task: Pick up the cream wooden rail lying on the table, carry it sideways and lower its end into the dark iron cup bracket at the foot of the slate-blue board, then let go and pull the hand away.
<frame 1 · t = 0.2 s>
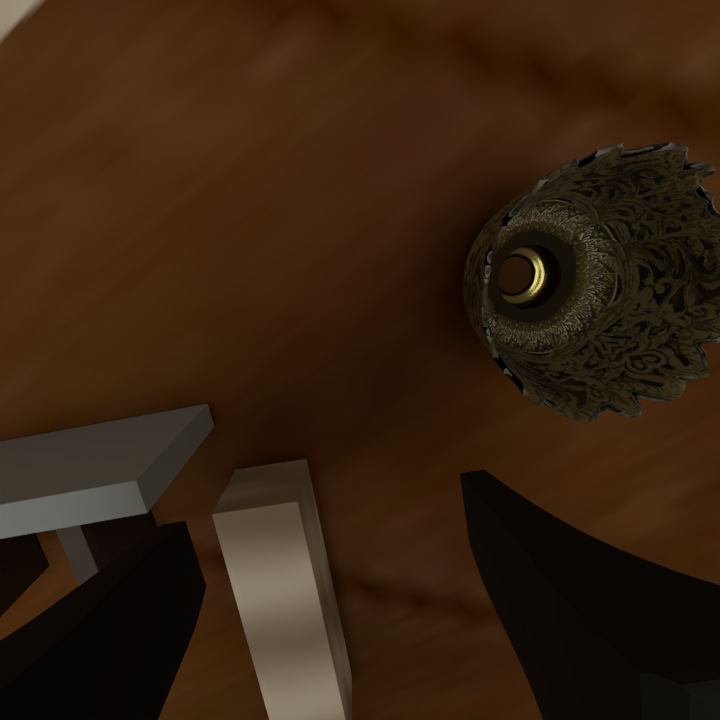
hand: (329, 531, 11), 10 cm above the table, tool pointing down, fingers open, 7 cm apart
backboard: (50, 444, 21), on the table
cup bracket: (80, 516, 22), on the table
rail: (298, 576, 23), on the table
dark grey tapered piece: (512, 275, 19), on the table
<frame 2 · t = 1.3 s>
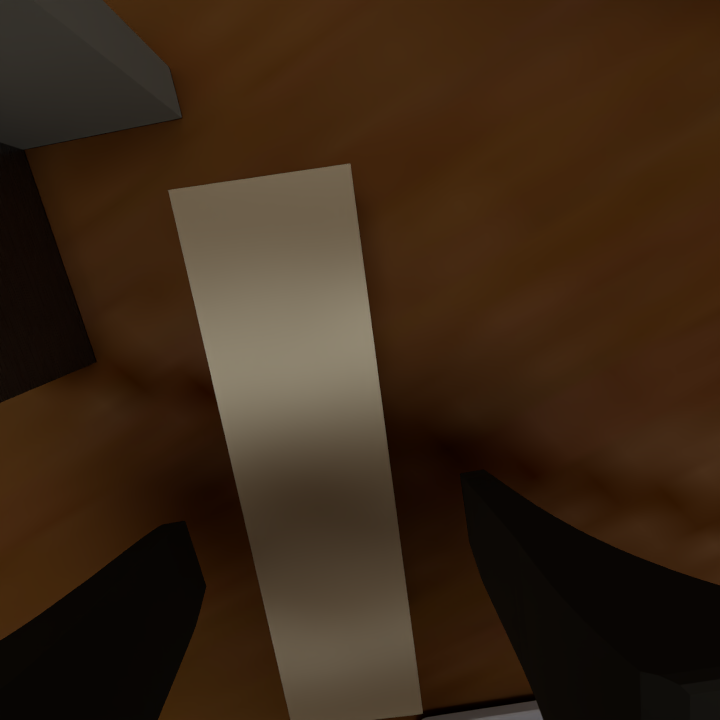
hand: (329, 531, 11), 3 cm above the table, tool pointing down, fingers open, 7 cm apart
rail: (327, 427, 14), on the table
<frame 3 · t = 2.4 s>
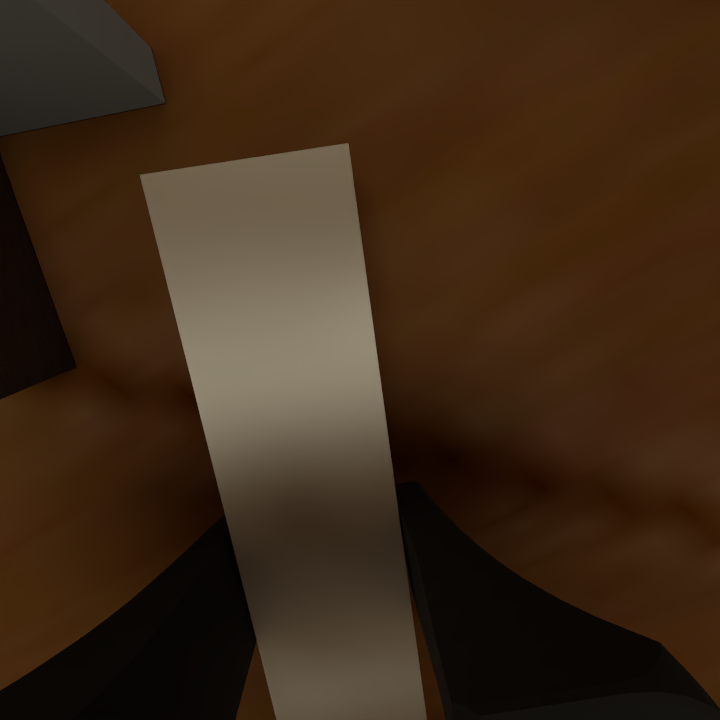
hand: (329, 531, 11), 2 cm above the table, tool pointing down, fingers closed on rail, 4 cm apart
rail: (324, 436, 13), on the table, touching gripper
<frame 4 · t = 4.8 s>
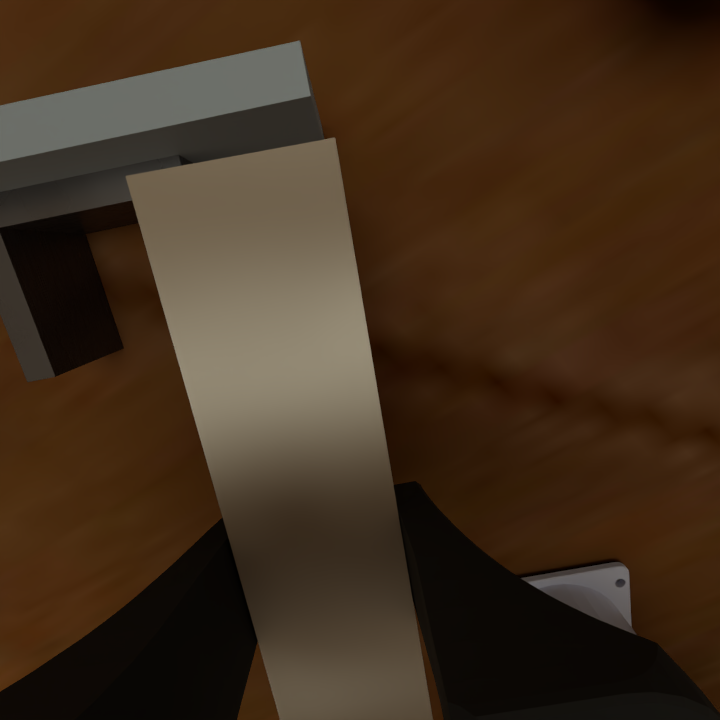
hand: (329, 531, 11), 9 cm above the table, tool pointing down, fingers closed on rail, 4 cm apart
backboard: (132, 181, 17), on the table
cup bracket: (162, 281, 18), on the table
rail: (324, 436, 13), point 7 cm above the table, touching gripper
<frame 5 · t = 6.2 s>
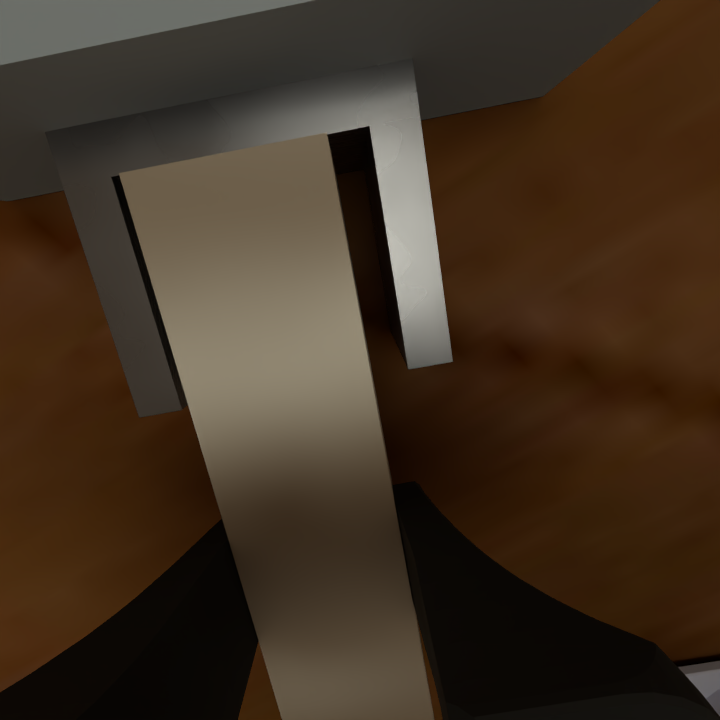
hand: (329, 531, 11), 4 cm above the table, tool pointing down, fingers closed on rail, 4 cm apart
backboard: (265, 127, 12), on the table
cup bracket: (296, 269, 13), on the table
rail: (322, 433, 13), point 2 cm above the table, touching gripper
when the fingers open (3 cm above the table, at t = 7.1 s): rail drops 1 cm, on the table.
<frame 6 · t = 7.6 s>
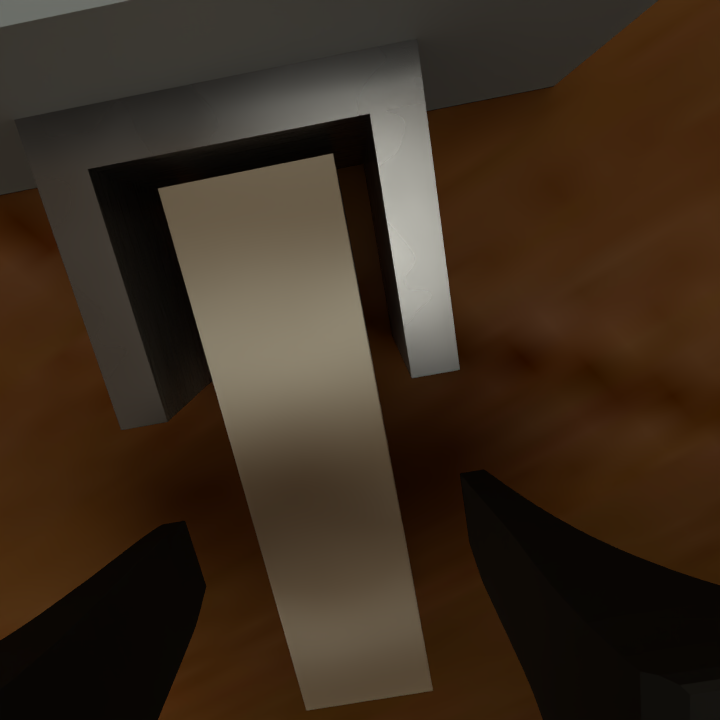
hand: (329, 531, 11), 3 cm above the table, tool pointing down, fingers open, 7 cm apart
backboard: (259, 119, 12), on the table
cup bracket: (292, 270, 13), on the table
rail: (327, 417, 14), on the table
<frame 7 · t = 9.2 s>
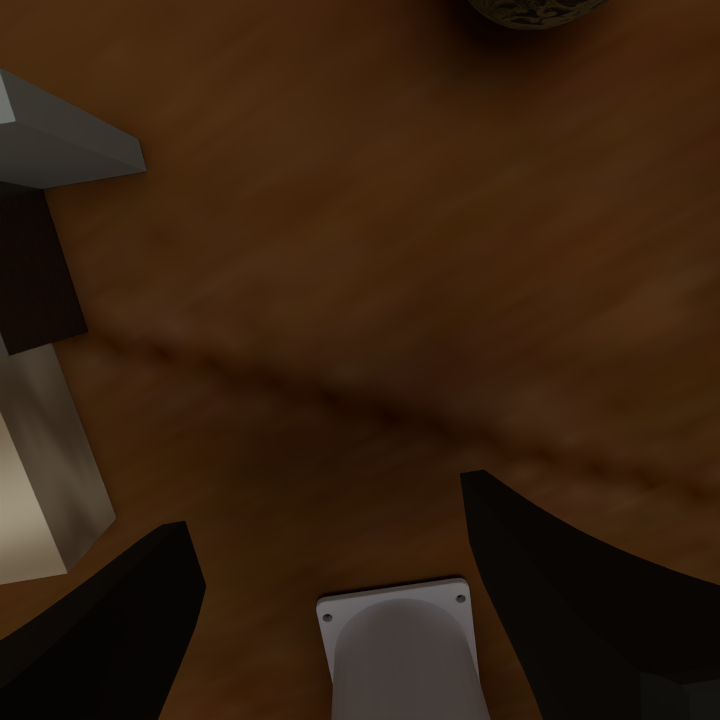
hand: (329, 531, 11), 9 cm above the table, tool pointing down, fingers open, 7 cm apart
rail: (34, 392, 20), on the table
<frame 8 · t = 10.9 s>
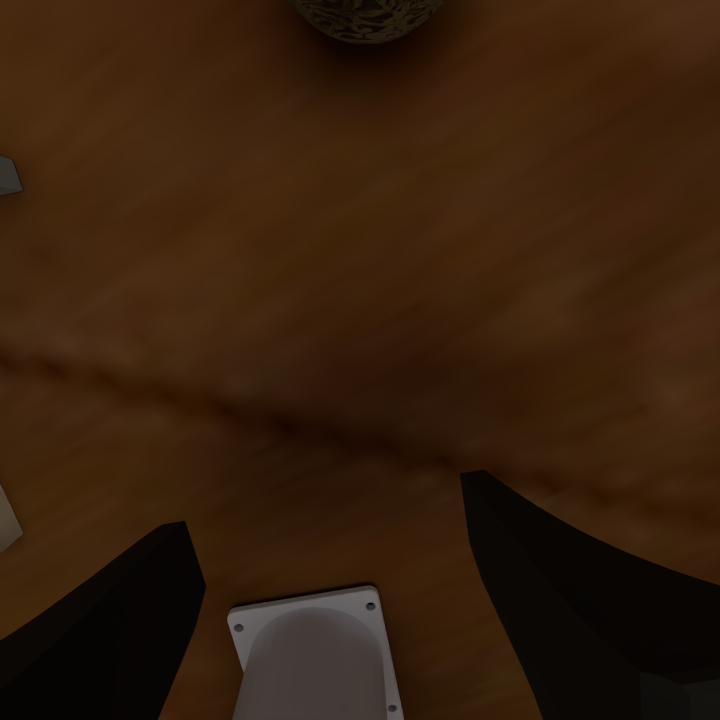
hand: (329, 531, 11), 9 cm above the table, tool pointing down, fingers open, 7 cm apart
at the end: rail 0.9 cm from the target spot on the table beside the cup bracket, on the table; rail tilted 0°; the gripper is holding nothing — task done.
